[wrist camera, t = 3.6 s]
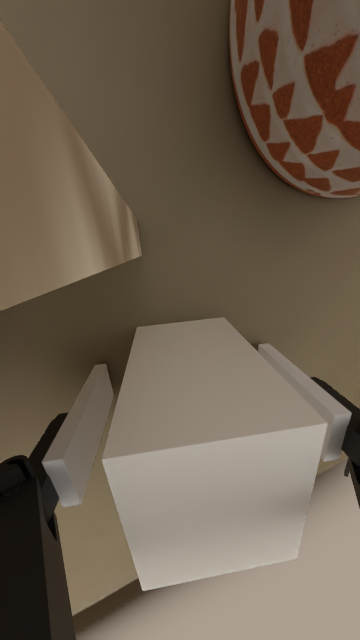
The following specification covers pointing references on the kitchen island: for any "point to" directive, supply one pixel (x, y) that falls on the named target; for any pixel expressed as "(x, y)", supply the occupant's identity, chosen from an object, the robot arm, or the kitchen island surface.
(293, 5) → the planter
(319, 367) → the kitchen island surface
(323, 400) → the robot arm
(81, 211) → the wooden board
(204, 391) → the cabinet
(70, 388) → the kitchen island surface
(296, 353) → the kitchen island surface
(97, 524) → the kitchen island surface
